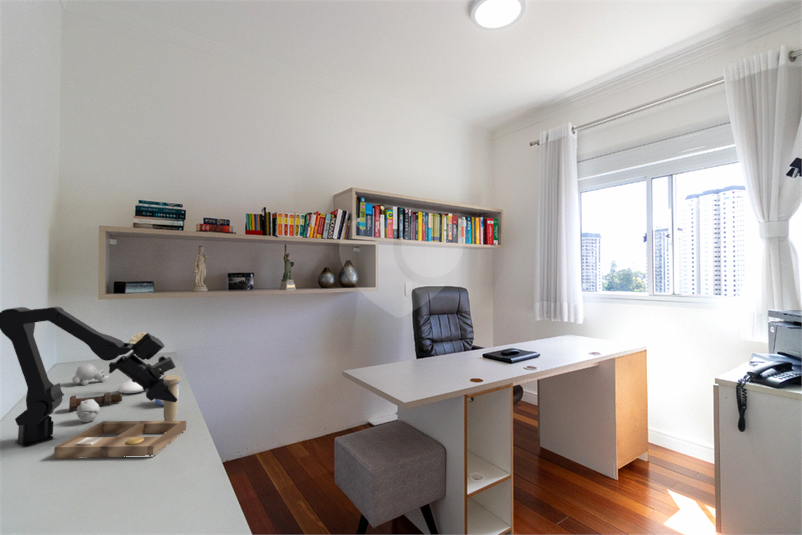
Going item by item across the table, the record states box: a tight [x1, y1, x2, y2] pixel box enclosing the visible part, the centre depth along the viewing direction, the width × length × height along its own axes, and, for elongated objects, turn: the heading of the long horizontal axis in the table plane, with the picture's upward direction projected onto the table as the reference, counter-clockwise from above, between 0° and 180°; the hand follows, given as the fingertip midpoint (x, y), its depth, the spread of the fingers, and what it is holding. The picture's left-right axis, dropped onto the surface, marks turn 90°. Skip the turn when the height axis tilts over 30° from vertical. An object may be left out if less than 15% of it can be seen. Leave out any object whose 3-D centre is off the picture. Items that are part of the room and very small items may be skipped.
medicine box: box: [154, 382, 180, 407], centre depth 143 cm, size 8×4×9 cm, turn 62°
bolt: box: [68, 392, 123, 413], centre depth 138 cm, size 6×5×15 cm
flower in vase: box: [117, 331, 148, 394], centre depth 157 cm, size 13×11×25 cm
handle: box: [162, 374, 181, 421], centre depth 125 cm, size 5×6×15 cm
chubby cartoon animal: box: [71, 363, 109, 386], centre depth 167 cm, size 7×12×8 cm, turn 130°
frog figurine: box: [75, 399, 101, 423], centre depth 124 cm, size 6×7×7 cm
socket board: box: [53, 420, 187, 460], centre depth 109 cm, size 25×18×3 cm
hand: (175, 399), depth 126 cm, fingers closed on handle, 5 cm apart
